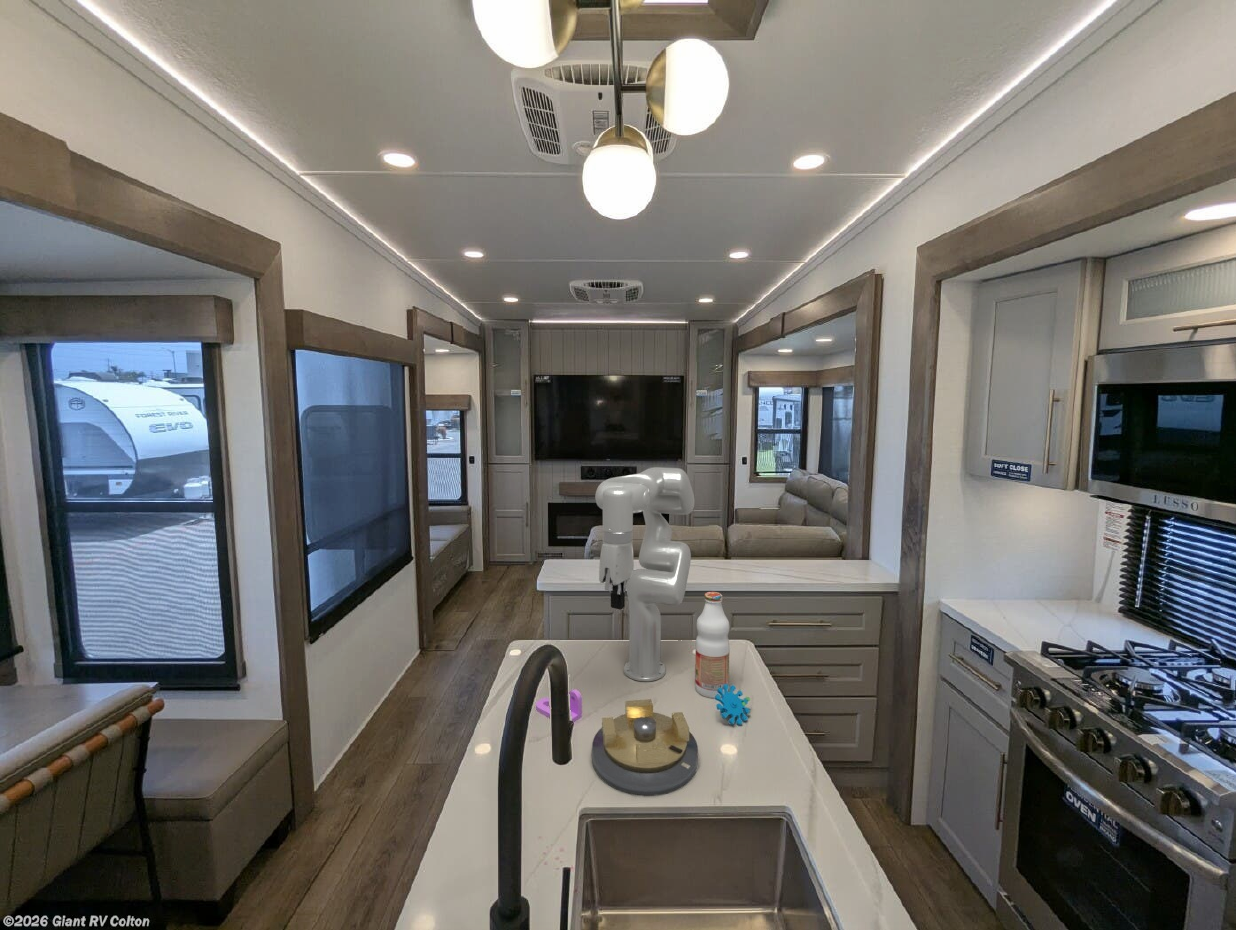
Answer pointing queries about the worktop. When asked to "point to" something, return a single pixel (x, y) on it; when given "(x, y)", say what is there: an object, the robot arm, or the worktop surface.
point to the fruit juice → (712, 647)
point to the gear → (732, 704)
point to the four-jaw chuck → (645, 738)
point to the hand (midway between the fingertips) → (617, 607)
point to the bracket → (574, 705)
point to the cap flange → (640, 780)
